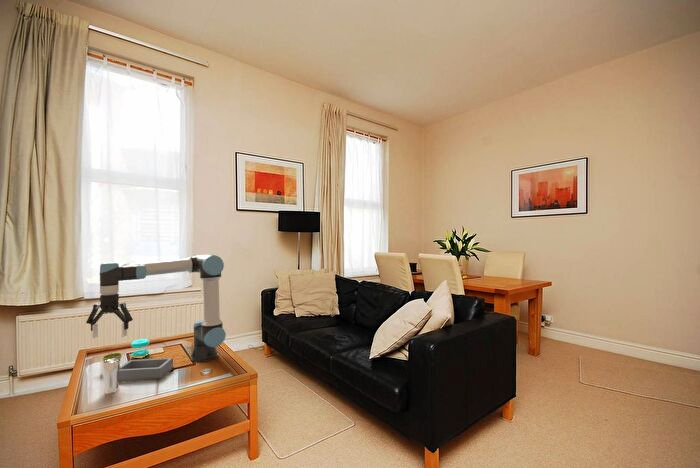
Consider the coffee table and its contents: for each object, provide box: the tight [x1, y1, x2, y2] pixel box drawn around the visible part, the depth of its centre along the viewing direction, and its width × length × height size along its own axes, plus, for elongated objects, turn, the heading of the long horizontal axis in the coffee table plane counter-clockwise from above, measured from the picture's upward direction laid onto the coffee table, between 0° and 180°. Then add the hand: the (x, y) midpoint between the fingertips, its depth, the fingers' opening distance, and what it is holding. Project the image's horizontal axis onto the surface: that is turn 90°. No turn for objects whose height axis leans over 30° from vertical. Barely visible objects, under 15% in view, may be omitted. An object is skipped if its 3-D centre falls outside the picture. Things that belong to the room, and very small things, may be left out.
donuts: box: [130, 338, 151, 357], centre depth 211 cm, size 10×10×10 cm
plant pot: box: [101, 352, 123, 364], centre depth 188 cm, size 9×9×9 cm
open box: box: [118, 357, 174, 383], centre depth 181 cm, size 23×15×6 cm, turn 96°
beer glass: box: [101, 358, 121, 395], centre depth 163 cm, size 7×7×15 cm
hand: (109, 336), depth 163 cm, fingers open, 13 cm apart
